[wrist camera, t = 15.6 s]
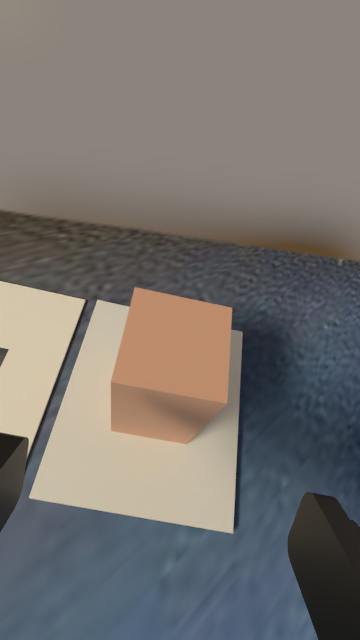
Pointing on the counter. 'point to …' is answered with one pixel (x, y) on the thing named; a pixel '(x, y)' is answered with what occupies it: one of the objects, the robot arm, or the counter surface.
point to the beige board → (137, 446)
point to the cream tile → (31, 353)
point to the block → (170, 367)
